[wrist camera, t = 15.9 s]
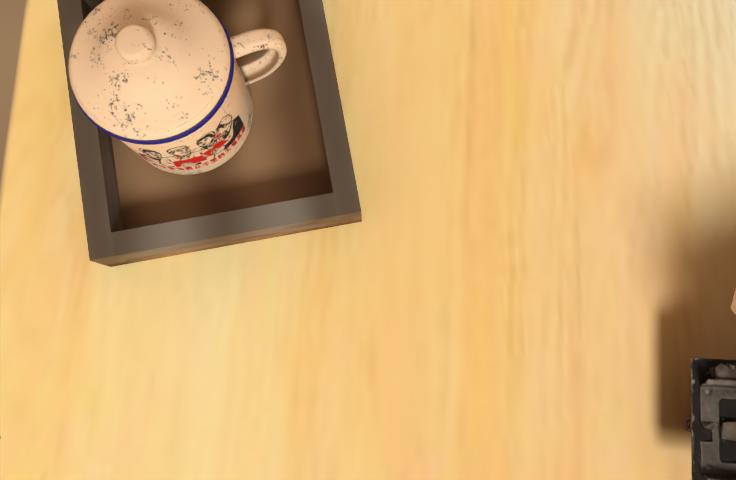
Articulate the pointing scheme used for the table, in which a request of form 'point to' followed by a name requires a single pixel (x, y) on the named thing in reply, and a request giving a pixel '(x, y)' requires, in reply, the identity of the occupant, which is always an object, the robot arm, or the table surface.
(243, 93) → the teacup with lid
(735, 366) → the vintage camera
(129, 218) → the tray
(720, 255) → the table surface
